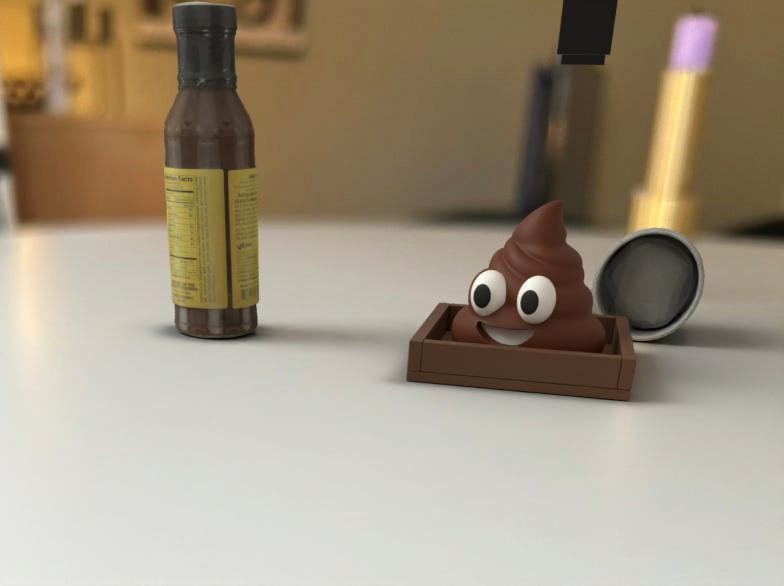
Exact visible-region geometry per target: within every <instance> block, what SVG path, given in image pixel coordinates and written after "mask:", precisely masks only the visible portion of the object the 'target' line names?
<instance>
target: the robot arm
mask: <svg viewBox="0 0 784 586" xmlns="http://www.w3.org/2000/svg"><path fill="white" fill-rule="evenodd" d="M618 1H619V0H562V7H561V16H560V24H559V32H558V33H559V34H558V42H557V49H556V50H557V51H556V55H557V56H558V55H559V56H560V55H561V60H560V65H561V66H567V65H568V66H605V62H606V56H610V55H611V52H612V45H613V37H614V31H615V24H616V23H615V22H616V16H617V9H618V3H619V2H618Z"/></svg>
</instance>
